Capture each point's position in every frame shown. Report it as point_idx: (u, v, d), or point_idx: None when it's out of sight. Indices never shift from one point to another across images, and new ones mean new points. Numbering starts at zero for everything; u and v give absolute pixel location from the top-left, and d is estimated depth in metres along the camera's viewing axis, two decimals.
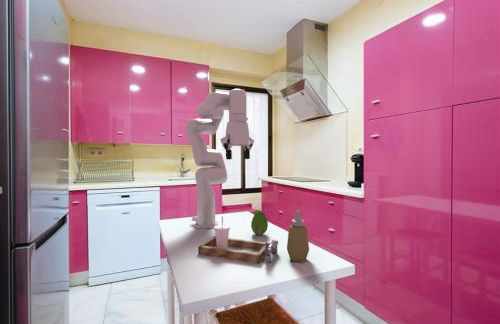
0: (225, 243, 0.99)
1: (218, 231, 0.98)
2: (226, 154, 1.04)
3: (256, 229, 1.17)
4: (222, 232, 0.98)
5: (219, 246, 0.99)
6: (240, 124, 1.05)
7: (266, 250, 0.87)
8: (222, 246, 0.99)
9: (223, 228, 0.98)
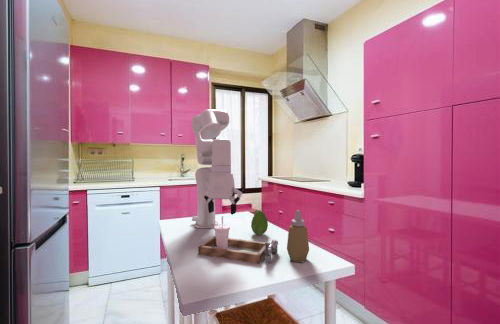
0: (225, 243, 0.99)
1: (218, 231, 0.98)
2: (235, 208, 0.98)
3: (256, 229, 1.17)
4: (222, 232, 0.98)
5: (219, 246, 0.99)
6: None
7: (266, 250, 0.87)
8: (222, 246, 0.99)
9: (223, 228, 0.98)
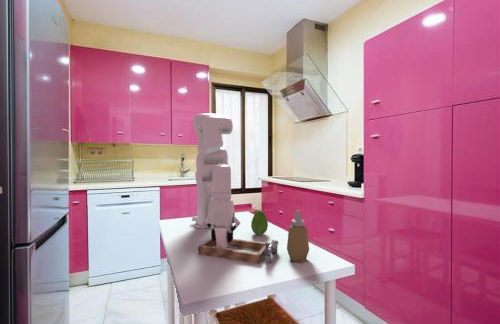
0: (225, 243, 0.99)
1: (218, 231, 0.98)
2: (231, 237, 0.99)
3: (256, 229, 1.17)
4: (222, 232, 0.98)
5: (219, 246, 0.99)
6: None
7: (266, 250, 0.87)
8: (222, 246, 0.99)
9: (223, 228, 0.98)
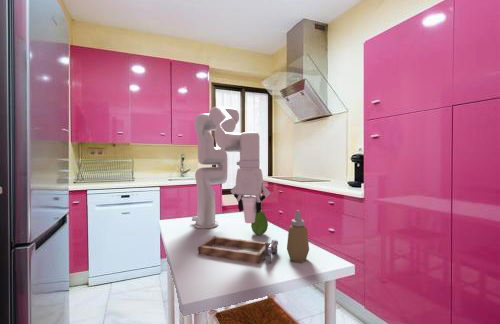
0: (253, 214, 0.95)
1: (247, 201, 0.93)
2: (260, 207, 0.94)
3: (257, 229, 1.17)
4: (251, 202, 0.93)
5: (247, 217, 0.94)
6: None
7: (266, 250, 0.87)
8: (250, 217, 0.94)
9: (252, 198, 0.94)
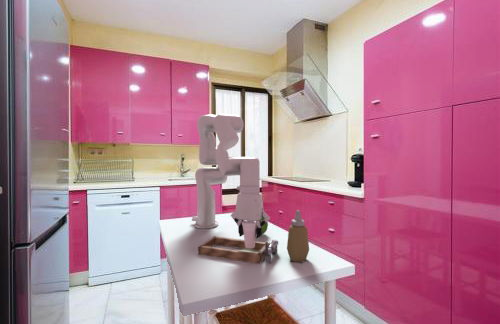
0: (254, 239, 0.95)
1: (247, 226, 0.94)
2: (260, 232, 0.95)
3: None
4: (251, 227, 0.94)
5: (247, 242, 0.95)
6: None
7: (266, 250, 0.87)
8: (251, 242, 0.94)
9: (252, 223, 0.94)
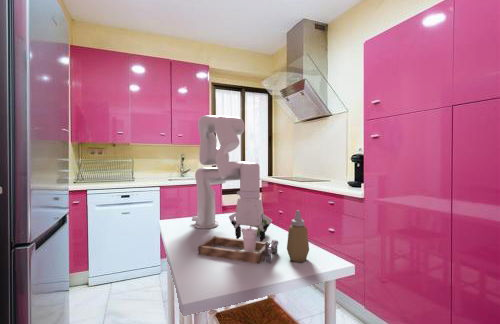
0: (253, 246, 0.95)
1: (246, 233, 0.94)
2: (264, 235, 0.94)
3: None
4: (251, 234, 0.94)
5: (247, 249, 0.95)
6: None
7: (266, 250, 0.87)
8: (251, 249, 0.95)
9: (251, 230, 0.94)
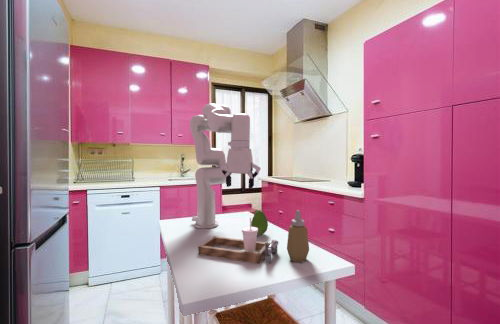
0: (254, 246, 0.95)
1: (247, 233, 0.94)
2: (252, 183, 1.00)
3: None
4: (251, 234, 0.94)
5: (247, 249, 0.95)
6: None
7: (266, 250, 0.87)
8: (251, 249, 0.95)
9: (252, 230, 0.94)
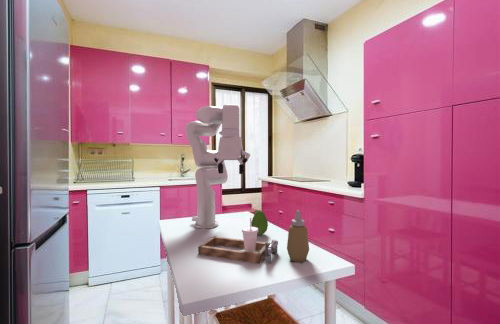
0: (254, 246, 0.95)
1: (247, 233, 0.94)
2: (243, 169, 1.06)
3: None
4: (251, 234, 0.94)
5: (247, 249, 0.95)
6: None
7: (266, 250, 0.87)
8: (251, 249, 0.95)
9: (252, 230, 0.94)
